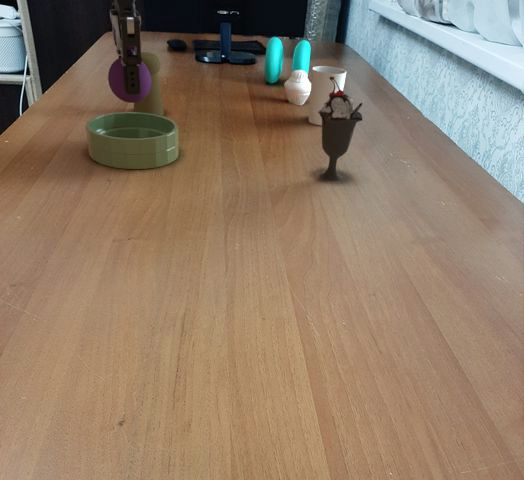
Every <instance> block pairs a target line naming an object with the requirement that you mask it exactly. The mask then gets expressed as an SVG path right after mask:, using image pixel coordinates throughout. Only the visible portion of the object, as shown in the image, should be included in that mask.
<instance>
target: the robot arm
mask: <svg viewBox="0 0 524 480" xmlns="http://www.w3.org/2000/svg"><path fill="white" fill-rule="evenodd" d="M135 1H136V0H114V2H111V9H109V17H110V23H111V26H112V37H113V41H114V45H115V52H116V54H117V56H118V58H120V57H122V60H121V64H122V65H123V74H124V87H125V92H126V93H127V94H139V93H140V77H139V66H140V65H141V62H142V58H141V53H142V45H143V44H142V35H141V25H142V17H141V16H142V15H141V13H139V11H138V10H136V4H135V3H136V2H135Z"/></svg>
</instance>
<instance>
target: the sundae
mask: <svg viewBox="0 0 524 480" xmlns="http://www.w3.org/2000/svg"><path fill="white" fill-rule="evenodd" d="M332 79H333V80H334V77H330V80H331V81H332V82H333V80H332ZM334 81H335V80H334ZM335 82H336V81H335ZM333 83H334V82H333ZM336 85H337V87H338V89H339V86H338V84H337V82H336ZM334 91H335V83H334V90H333V92H332V93H330V94H329V98H330V99H329V100H328V101H327V102H326V103H324V106H323V107H322V110H320V111H319V112H318V113H319V114H320V116H321V117H322V126H321V146H322V150H323V152H324V153H325V154H326V155H327V156H328V158H329V160H328V166H327V169H326V170H325V171H324V172H321V173H319V174H318V176H319V178H321V179H322V180H324V181H328V182H339V181H342V180H343V177H342V176H341V174H339V173H338V172H337V163H338V159H339V158H340V157H343V156H344V155H345V154H346V153H347V152H348V150H349V147H350V145H351V142H352V138H353V135H354V131H355V128H356V126H357V123H358V122H362V121H363V115H362V113H361V112H359V110H360V109H361V108H362V106H363V102H360V103H359V104H358V105H357V107H355V106H354V100H353V99H352V97H350V95H348V94H346V93H345V92H344V90H343V91H342V90H340V89H339V91H337V92H336V93H335V92H334ZM354 107H355V108H354Z"/></svg>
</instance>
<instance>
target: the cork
mask: <svg viewBox="0 0 524 480" xmlns="http://www.w3.org/2000/svg"><path fill="white" fill-rule="evenodd" d="M141 58H142V62H143V63H144V64H145V65H146V67H147V68H148V70H149V72H150V75H151V88H150V91H149V93H148V95H147V96H146V97H145V98H144V99H143V100H141V101H139V102H135V103H133V111H132V112H141V113H149V114H155V115H160V116H164V115H165V110H164V105H163V98H162V91H161V83H160V79H159V72H160V71H161V60H160V57H159V56H158V55H157V54H155V53H152V52H145V51H143V52H142V51H141Z"/></svg>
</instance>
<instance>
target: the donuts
mask: <svg viewBox="0 0 524 480" xmlns="http://www.w3.org/2000/svg"><path fill="white" fill-rule="evenodd" d="M311 47H312V46H311V44H310V42H309V41H308V40H306V39H302V40H300V41H299V42H298V43H297V44H296V46H295V48H294V50H293V56H292V62H291V63H292V64H291V73H292V72H293V71H295V70H299V69H300V70H303V71H305V72H306V73H307V77H308V76H309V69H310V61H311V51H312V50H311ZM265 49H266V50H265V58H264V79H265V80H266V82H267V83H269V84H274V83H277V82H278V80H280V77H281V75H282V71H283V65H284V53H285V52H284V51H285V50H284V44H283V42H282V41H281V39H280V38H279V37H277V36H273V37H271V38H270V39H269V40H268V42H267V44H266V48H265Z"/></svg>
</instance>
